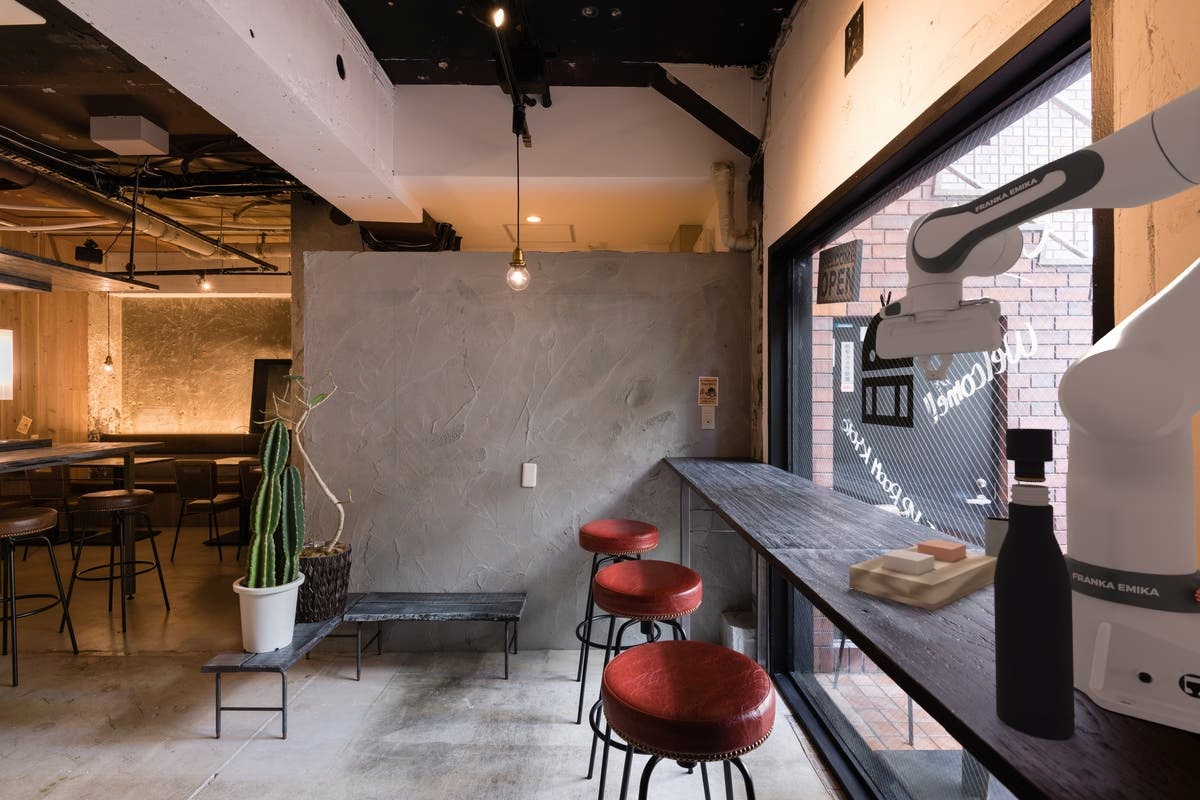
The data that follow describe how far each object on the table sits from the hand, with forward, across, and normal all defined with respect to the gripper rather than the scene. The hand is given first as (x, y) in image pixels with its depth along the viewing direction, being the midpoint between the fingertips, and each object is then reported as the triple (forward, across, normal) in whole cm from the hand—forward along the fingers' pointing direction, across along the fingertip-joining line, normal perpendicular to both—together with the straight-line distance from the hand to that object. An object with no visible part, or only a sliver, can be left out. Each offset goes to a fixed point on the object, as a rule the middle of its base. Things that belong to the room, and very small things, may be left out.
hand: (935, 380), depth 104 cm
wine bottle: (+37, -26, +40) cm, 61 cm away
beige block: (+35, +2, +7) cm, 36 cm away
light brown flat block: (+37, +2, +1) cm, 37 cm away
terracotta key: (+35, +2, -6) cm, 35 cm away
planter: (+37, -3, -19) cm, 42 cm away
